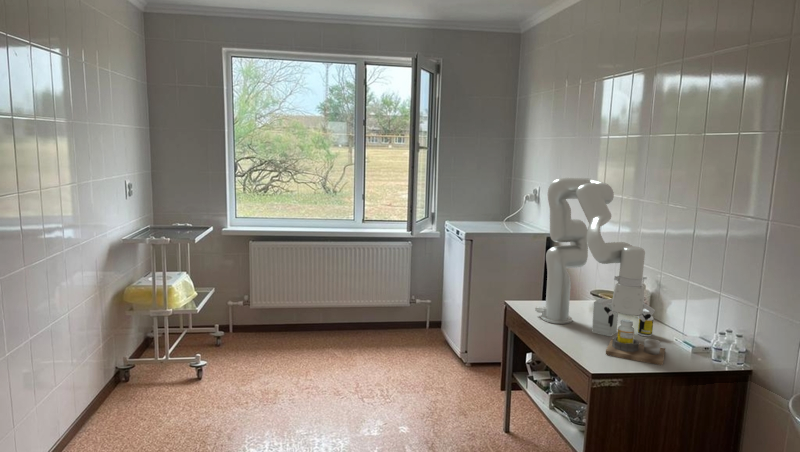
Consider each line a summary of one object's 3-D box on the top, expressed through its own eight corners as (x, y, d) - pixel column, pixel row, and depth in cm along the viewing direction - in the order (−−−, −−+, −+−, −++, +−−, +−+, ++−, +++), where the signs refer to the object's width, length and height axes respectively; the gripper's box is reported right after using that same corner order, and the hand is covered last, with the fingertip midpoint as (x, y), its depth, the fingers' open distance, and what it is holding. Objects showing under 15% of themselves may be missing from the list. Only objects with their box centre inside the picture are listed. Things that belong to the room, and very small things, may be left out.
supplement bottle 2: (653, 337, 203) (655, 312, 201) (638, 336, 204) (640, 311, 202) (650, 332, 208) (652, 308, 207) (635, 331, 209) (637, 307, 208)
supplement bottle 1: (630, 351, 183) (632, 324, 182) (614, 347, 187) (616, 321, 186) (634, 347, 188) (637, 321, 186) (619, 343, 191) (621, 317, 190)
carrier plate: (605, 354, 184) (606, 339, 183) (611, 342, 196) (612, 328, 195) (662, 365, 175) (664, 349, 174) (664, 352, 187) (666, 337, 187)
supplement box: (617, 332, 208) (619, 301, 206) (610, 336, 202) (612, 305, 201) (598, 328, 213) (601, 297, 211) (591, 332, 207) (593, 301, 206)
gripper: (602, 280, 185) (598, 326, 188) (656, 288, 177) (651, 336, 179) (605, 275, 191) (601, 320, 194) (658, 283, 183) (653, 330, 186)
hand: (625, 328), depth 187 cm, fingers open, 9 cm apart
